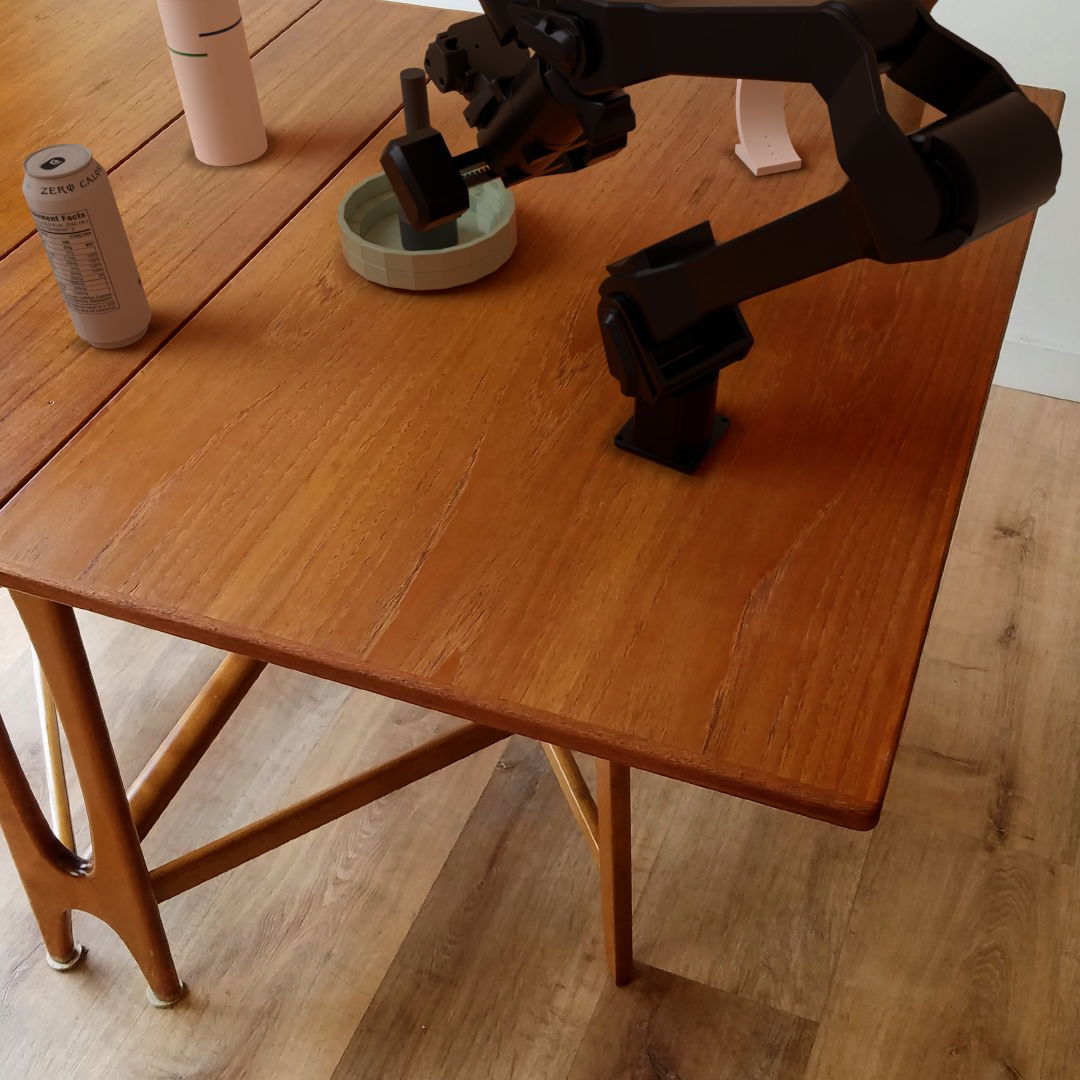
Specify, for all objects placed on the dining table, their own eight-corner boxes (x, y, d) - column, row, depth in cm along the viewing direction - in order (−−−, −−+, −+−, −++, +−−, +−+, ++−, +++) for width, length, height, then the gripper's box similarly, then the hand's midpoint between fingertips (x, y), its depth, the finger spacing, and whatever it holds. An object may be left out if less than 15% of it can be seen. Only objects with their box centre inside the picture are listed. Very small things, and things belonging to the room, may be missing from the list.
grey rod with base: (399, 257, 99) (378, 88, 89) (403, 227, 103) (383, 60, 92) (457, 256, 99) (442, 86, 89) (459, 225, 103) (445, 58, 92)
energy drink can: (170, 320, 95) (117, 148, 84) (121, 360, 91) (59, 186, 80) (113, 302, 97) (54, 133, 86) (63, 341, 93) (-5, 169, 82)
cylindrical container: (274, 157, 114) (218, -124, 96) (202, 172, 112) (131, -112, 94) (259, 126, 118) (202, -147, 100) (189, 140, 117) (119, -136, 99)
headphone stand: (756, 176, 109) (771, 49, 100) (730, 147, 113) (742, 23, 104) (800, 168, 110) (819, 41, 101) (773, 140, 114) (788, 15, 105)
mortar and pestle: (925, 187, 107) (973, -15, 94) (853, 181, 108) (891, -20, 95) (923, 153, 111) (969, -45, 98) (854, 148, 112) (891, -49, 99)
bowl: (452, 315, 94) (448, 273, 91) (308, 265, 100) (300, 223, 97) (549, 229, 103) (548, 188, 100) (411, 187, 109) (407, 148, 106)
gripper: (606, -43, 80) (520, 63, 94) (375, 27, 73) (319, 131, 87) (675, 106, 81) (579, 189, 95) (454, 191, 74) (386, 267, 88)
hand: (469, 190), depth 91 cm, fingers open, 9 cm apart
